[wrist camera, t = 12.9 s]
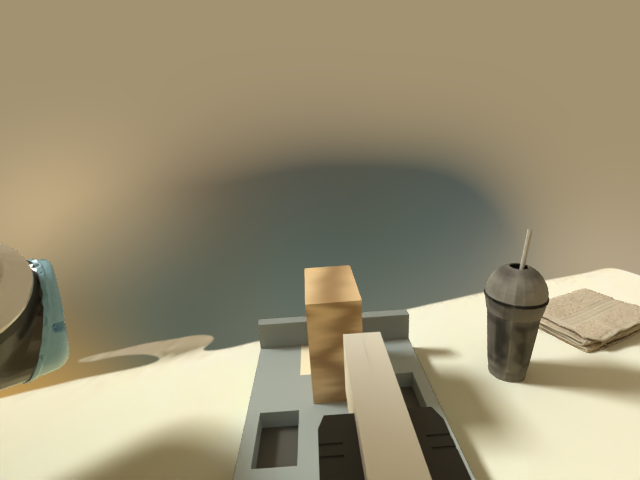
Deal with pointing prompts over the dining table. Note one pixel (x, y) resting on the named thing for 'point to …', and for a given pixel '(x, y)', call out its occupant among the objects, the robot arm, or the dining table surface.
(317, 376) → the oak block
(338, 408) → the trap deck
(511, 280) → the beverage cup
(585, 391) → the dining table surface
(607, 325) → the washcloth
